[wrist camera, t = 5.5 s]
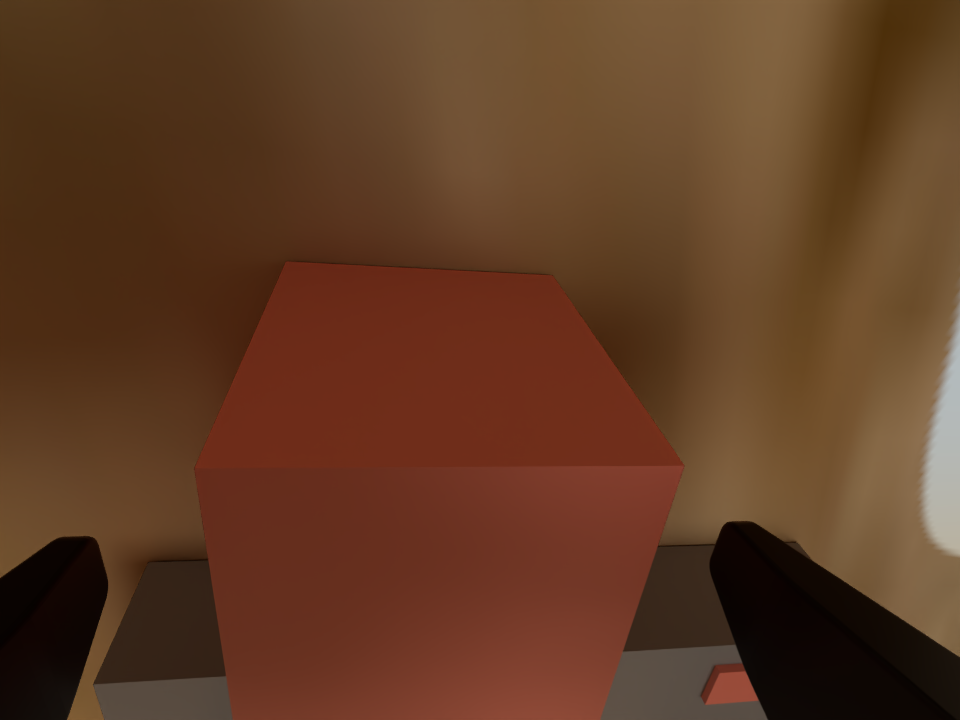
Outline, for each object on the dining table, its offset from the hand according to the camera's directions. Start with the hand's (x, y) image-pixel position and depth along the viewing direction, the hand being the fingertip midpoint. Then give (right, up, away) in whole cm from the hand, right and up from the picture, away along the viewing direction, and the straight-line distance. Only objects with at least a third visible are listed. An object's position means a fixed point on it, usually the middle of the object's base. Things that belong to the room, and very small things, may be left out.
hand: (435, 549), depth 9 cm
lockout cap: (-1, +2, +4) cm, 5 cm away
